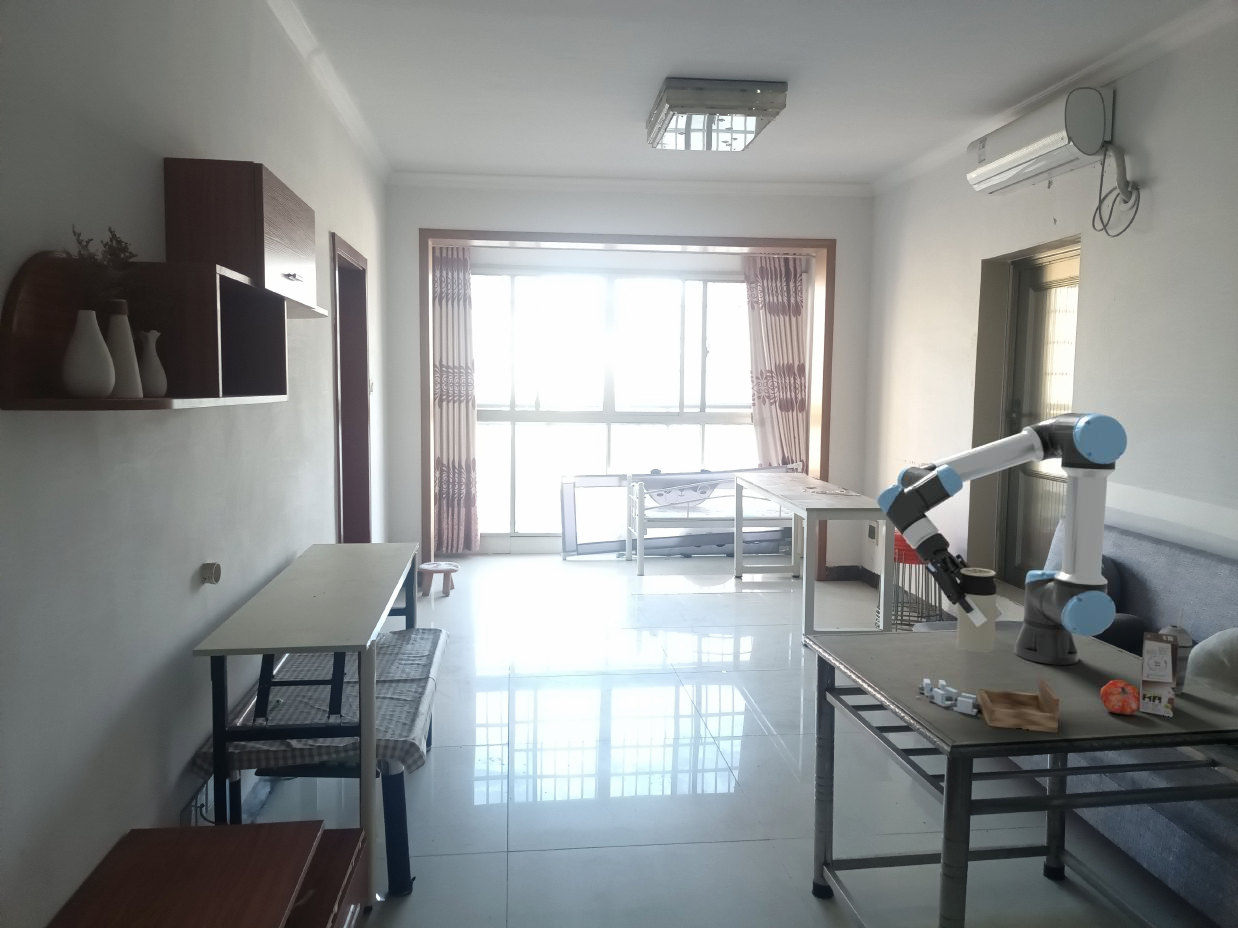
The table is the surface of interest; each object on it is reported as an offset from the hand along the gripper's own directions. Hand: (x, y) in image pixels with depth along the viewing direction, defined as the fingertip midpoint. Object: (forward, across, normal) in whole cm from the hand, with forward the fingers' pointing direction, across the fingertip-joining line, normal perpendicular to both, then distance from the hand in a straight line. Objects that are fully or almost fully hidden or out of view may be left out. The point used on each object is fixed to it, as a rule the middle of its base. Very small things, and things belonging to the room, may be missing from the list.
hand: (990, 620), depth 192 cm
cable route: (+10, +11, -15) cm, 21 cm away
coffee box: (+33, -22, +7) cm, 40 cm away
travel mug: (+3, 0, -8) cm, 8 cm away
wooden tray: (+20, +9, -5) cm, 22 cm away
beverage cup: (+32, -38, +5) cm, 50 cm away
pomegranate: (+29, -12, +4) cm, 32 cm away
